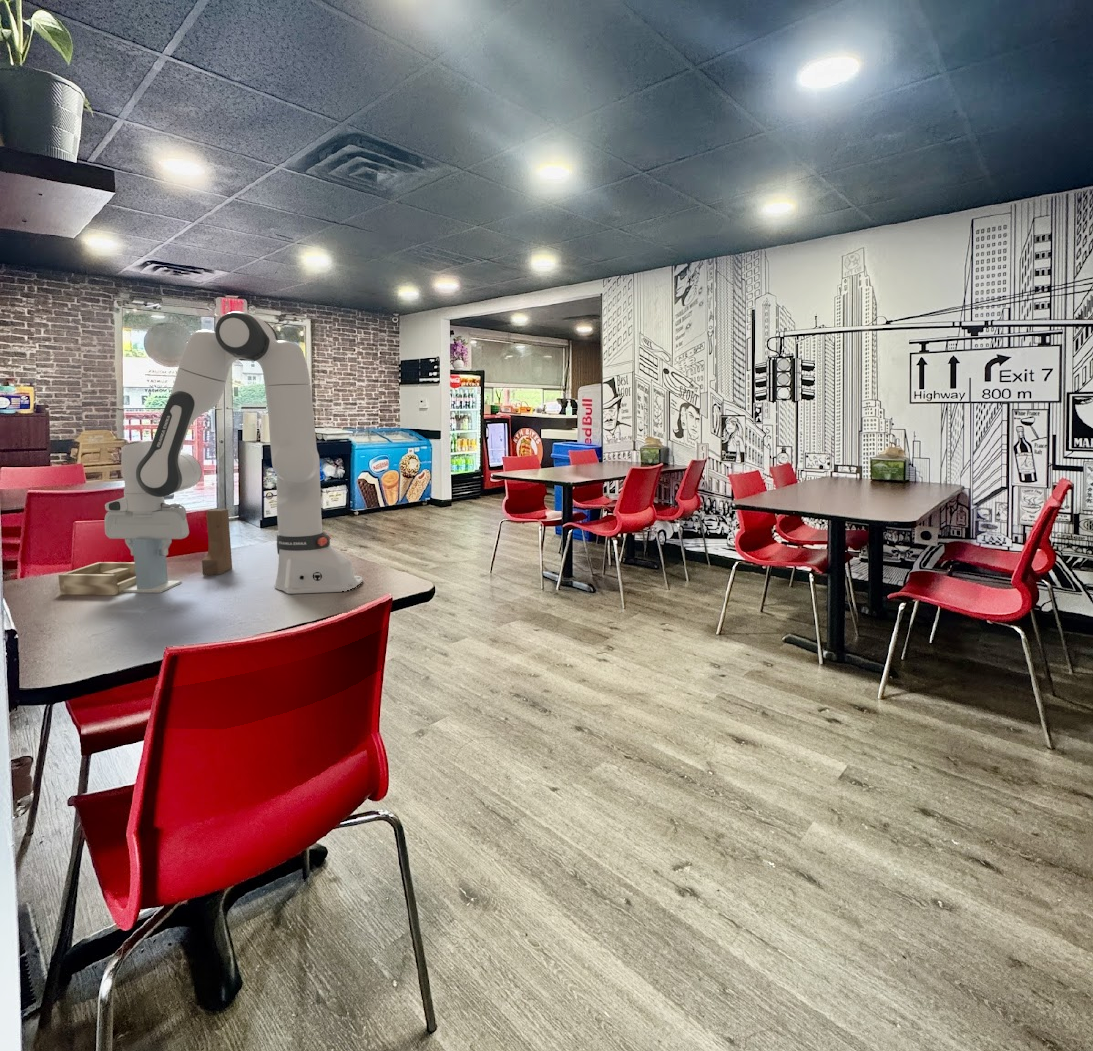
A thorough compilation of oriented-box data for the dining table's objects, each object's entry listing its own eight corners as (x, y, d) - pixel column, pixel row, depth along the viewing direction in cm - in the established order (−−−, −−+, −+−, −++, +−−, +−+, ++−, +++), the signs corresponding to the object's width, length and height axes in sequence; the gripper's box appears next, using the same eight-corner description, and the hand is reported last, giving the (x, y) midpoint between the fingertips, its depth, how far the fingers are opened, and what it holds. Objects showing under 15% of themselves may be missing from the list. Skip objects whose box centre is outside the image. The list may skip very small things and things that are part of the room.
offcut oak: (130, 577, 179) (129, 568, 179) (112, 582, 174) (111, 573, 173) (120, 576, 180) (119, 567, 179) (103, 581, 174) (102, 572, 174)
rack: (151, 580, 185) (149, 562, 184) (116, 594, 170) (114, 575, 169) (99, 579, 185) (98, 562, 184) (60, 594, 170) (58, 575, 169)
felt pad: (181, 582, 182) (181, 580, 182) (160, 592, 172) (160, 590, 172) (145, 582, 182) (144, 580, 182) (121, 592, 172) (121, 589, 172)
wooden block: (218, 575, 190) (213, 513, 187) (202, 575, 190) (197, 513, 187) (232, 568, 199) (228, 508, 196) (217, 568, 199) (213, 508, 196)
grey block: (168, 581, 181) (163, 534, 179) (150, 589, 173) (146, 539, 171) (155, 581, 181) (150, 534, 179) (137, 589, 173) (132, 539, 171)
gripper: (191, 501, 176) (195, 553, 179) (114, 501, 177) (119, 552, 179) (178, 505, 170) (182, 558, 173) (98, 504, 170) (103, 557, 173)
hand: (149, 555), depth 176 cm, fingers open, 6 cm apart
